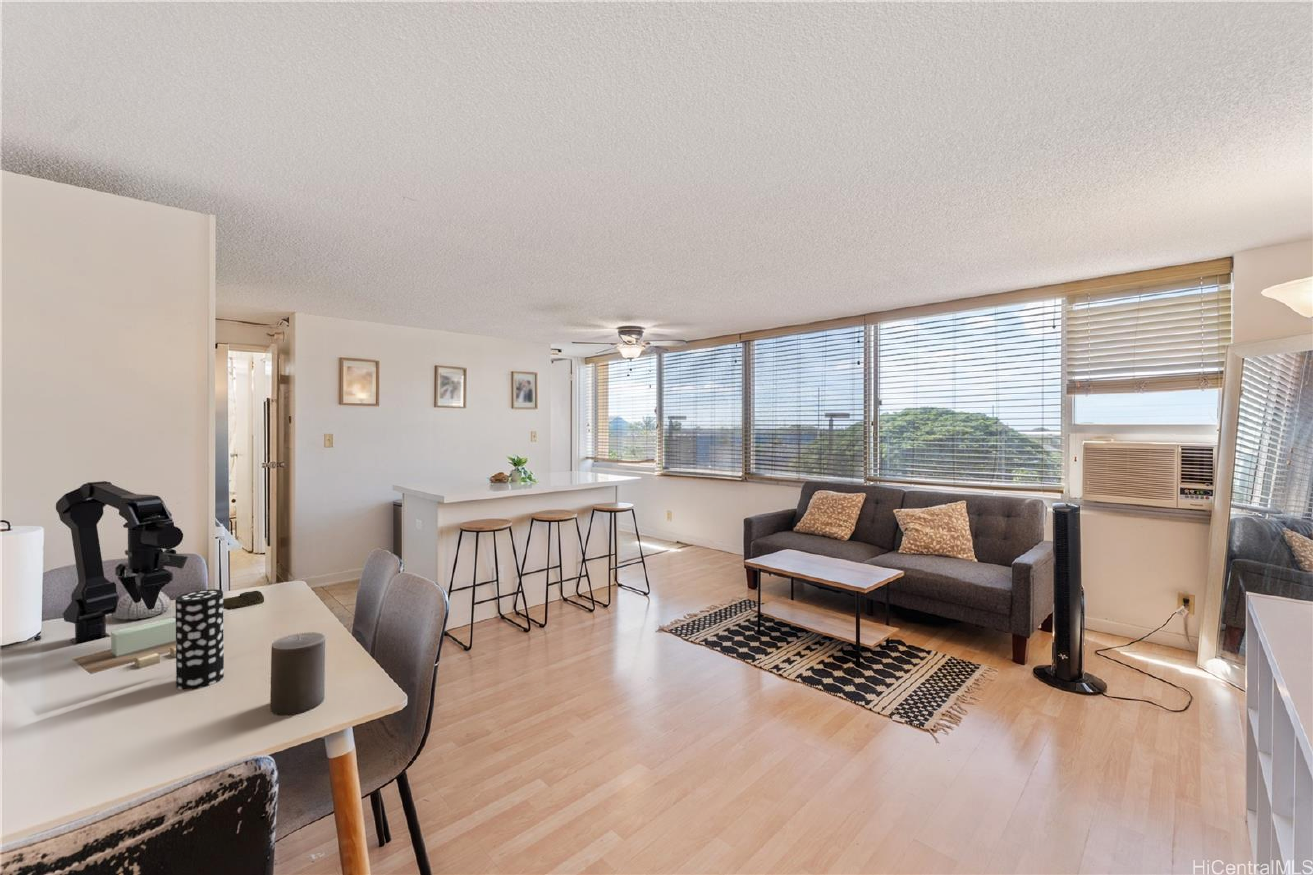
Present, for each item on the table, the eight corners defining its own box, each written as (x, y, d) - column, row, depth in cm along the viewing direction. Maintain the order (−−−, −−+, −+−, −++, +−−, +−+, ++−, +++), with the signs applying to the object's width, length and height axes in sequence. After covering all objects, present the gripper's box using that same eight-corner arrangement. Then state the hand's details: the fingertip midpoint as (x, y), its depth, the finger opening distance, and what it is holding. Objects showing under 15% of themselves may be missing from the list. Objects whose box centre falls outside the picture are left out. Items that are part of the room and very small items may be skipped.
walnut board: (72, 665, 130) (72, 659, 130) (195, 632, 151) (195, 627, 151) (91, 680, 123) (91, 673, 123) (218, 643, 144) (217, 638, 144)
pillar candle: (283, 720, 108) (284, 647, 108) (261, 706, 113) (262, 635, 113) (334, 700, 116) (335, 632, 116) (311, 688, 122) (312, 622, 121)
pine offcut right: (170, 647, 134) (176, 650, 132) (187, 642, 137) (193, 645, 135) (170, 661, 134) (176, 664, 132) (188, 656, 137) (193, 659, 135)
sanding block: (111, 654, 133) (111, 632, 133) (173, 637, 144) (173, 617, 144) (116, 658, 131) (116, 635, 131) (179, 641, 142) (179, 620, 141)
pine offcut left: (134, 657, 128) (140, 660, 126) (154, 651, 131) (159, 655, 129) (134, 671, 128) (140, 675, 126) (154, 665, 131) (159, 669, 129)
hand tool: (187, 619, 162) (186, 603, 162) (187, 615, 165) (187, 600, 165) (264, 606, 174) (264, 591, 174) (263, 602, 177) (263, 588, 177)
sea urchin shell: (136, 608, 170) (135, 583, 169) (183, 607, 171) (182, 582, 171) (97, 624, 157) (97, 596, 156) (148, 622, 158) (148, 595, 158)
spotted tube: (232, 676, 126) (231, 591, 126) (191, 692, 119) (190, 603, 118) (208, 670, 129) (207, 587, 128) (167, 686, 121) (166, 598, 121)
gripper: (197, 544, 140) (198, 603, 141) (169, 535, 150) (169, 591, 150) (140, 553, 130) (141, 616, 131) (114, 543, 140) (115, 602, 140)
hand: (144, 605), depth 138 cm, fingers open, 9 cm apart
